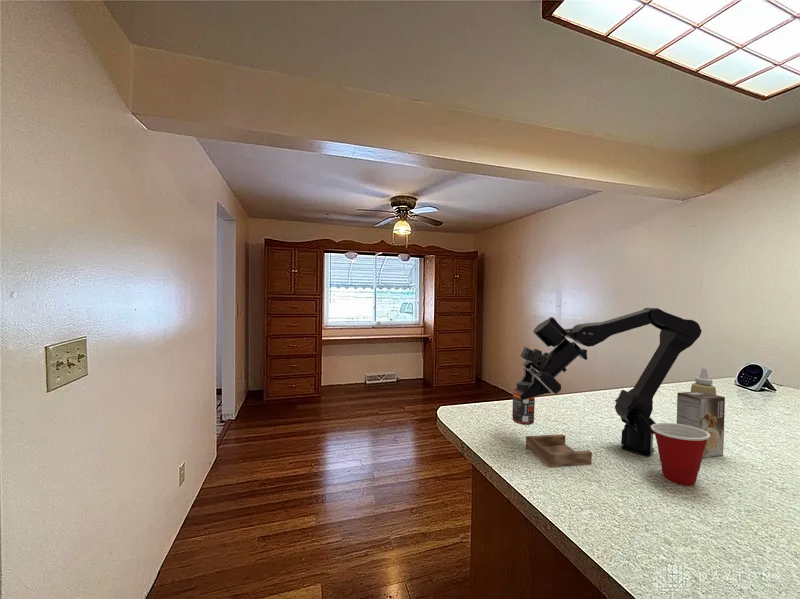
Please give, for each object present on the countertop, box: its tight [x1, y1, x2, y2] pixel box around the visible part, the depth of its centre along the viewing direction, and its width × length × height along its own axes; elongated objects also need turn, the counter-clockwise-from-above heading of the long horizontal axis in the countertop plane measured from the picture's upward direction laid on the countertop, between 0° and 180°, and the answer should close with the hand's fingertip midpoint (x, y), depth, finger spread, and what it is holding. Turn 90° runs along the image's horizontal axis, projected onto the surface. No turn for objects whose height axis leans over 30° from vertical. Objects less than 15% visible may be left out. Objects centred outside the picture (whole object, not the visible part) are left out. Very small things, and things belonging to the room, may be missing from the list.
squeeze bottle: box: [690, 367, 717, 395], centre depth 124 cm, size 8×8×18 cm
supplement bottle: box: [511, 381, 536, 426], centre depth 99 cm, size 6×6×11 cm
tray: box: [525, 433, 593, 468], centre depth 91 cm, size 11×11×3 cm
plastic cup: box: [651, 422, 710, 487], centre depth 81 cm, size 11×11×12 cm
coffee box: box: [676, 391, 726, 459], centre depth 96 cm, size 9×6×16 cm
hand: (518, 395), depth 100 cm, fingers closed on supplement bottle, 6 cm apart
